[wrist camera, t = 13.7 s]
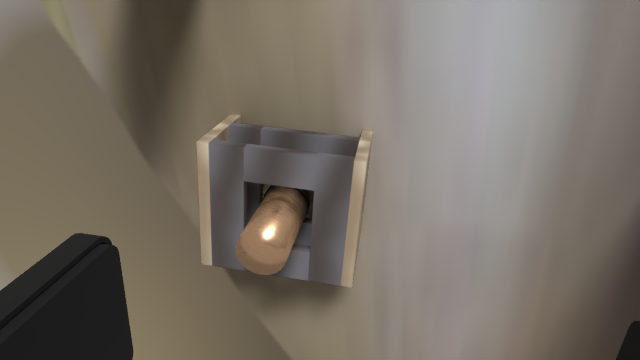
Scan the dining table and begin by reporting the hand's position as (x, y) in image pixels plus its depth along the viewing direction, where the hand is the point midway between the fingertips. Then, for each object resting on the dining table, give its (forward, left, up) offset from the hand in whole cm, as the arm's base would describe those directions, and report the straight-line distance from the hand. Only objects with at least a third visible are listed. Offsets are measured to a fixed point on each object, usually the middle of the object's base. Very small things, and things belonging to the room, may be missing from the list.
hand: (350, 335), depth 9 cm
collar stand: (+8, +13, -36) cm, 39 cm away
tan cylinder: (+8, +13, -36) cm, 39 cm away
